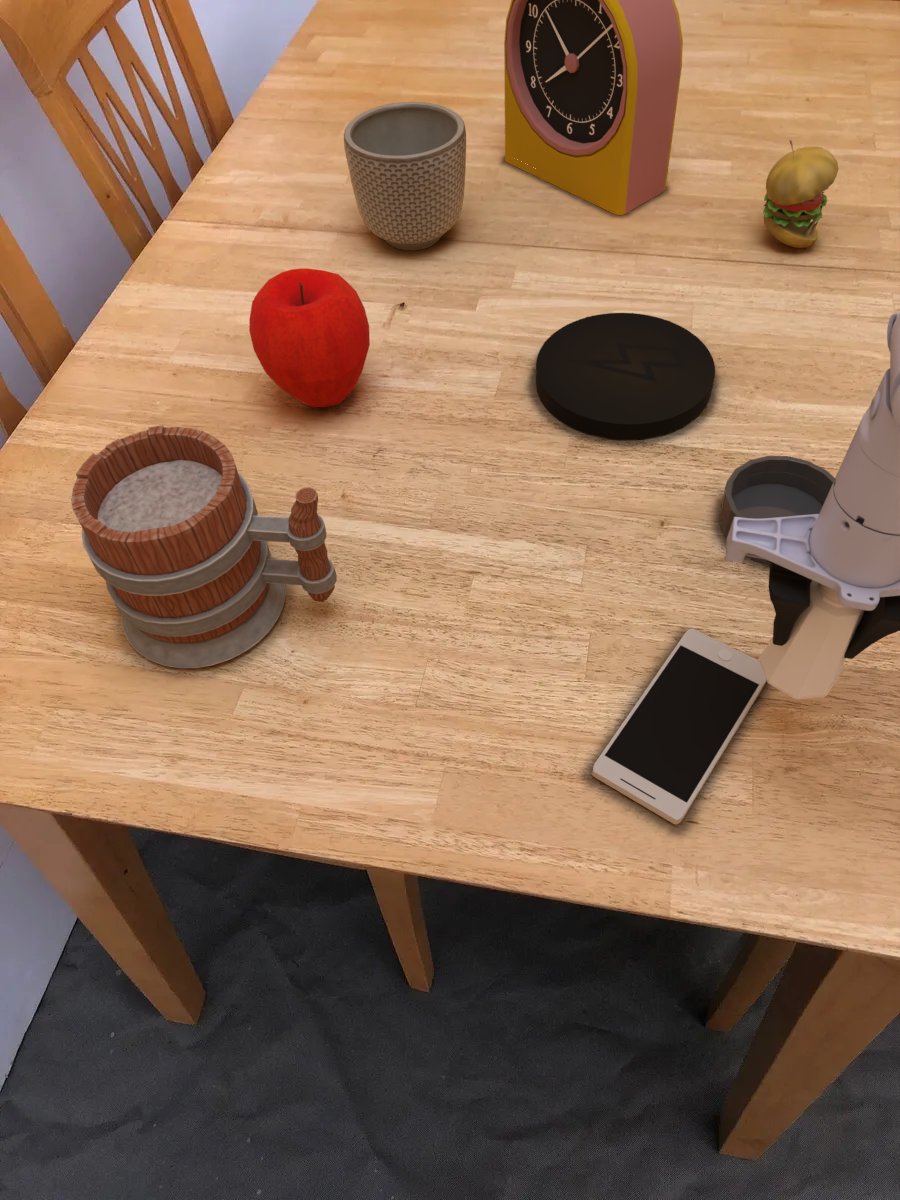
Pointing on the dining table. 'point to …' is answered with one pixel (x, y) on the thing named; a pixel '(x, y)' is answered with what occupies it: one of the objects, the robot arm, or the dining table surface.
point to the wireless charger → (624, 376)
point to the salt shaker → (812, 647)
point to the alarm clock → (593, 95)
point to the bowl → (774, 491)
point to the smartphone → (681, 725)
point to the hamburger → (798, 194)
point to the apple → (310, 335)
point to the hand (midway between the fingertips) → (812, 639)
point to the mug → (192, 546)
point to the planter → (407, 171)
